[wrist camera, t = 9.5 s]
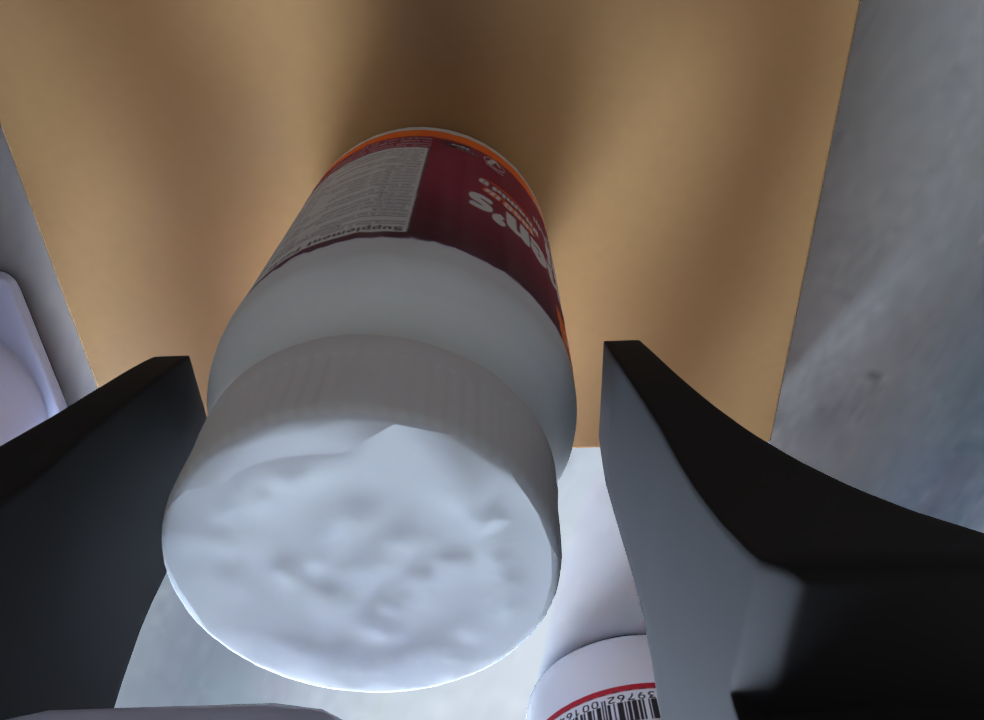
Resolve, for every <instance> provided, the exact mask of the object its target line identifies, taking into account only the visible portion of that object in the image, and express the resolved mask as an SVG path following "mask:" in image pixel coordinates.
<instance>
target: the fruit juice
mask: <svg viewBox="0 0 984 720" xmlns="http://www.w3.org/2000/svg"><path fill="white" fill-rule="evenodd" d="M526 720H661V716H660V710H659V704H658V698H657V692H656V686H655V680H654V674H653V668H652V662H651V657H650V651H649V646H648V640H647V635H632V636H622V637H616V638H611V639H607V640H602V641H599V642H596V643H592V644H590V645H587V646H584V647H582V648H580V649H577V650H575V651H573V652H571V653H570V654H568V655H566V656H564V657H563V658H561V659H560V660H558V661H557V662H556V663H554V664H553V665H552V666H551V667H550V668H549V669H547V670H546V672H545V673H544V674H543V675H542V676H541V677H540V679H539V680H538V682H537V683H536V685H535V687H534V689H533V691H532V693H531V696H530V699H529V703H528V707H527V715H526Z"/></svg>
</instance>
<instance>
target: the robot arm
mask: <svg viewBox="0 0 984 720" xmlns="http://www.w3.org/2000/svg"><path fill="white" fill-rule="evenodd" d="M206 419H207V416H206V413H205V409H204V406H203V402H202V399H201V395H200V392H199V388H198V385H197V381H196V378H195V374H194V371H193V367H192V364H191V360H190V357H189V355H188V356H159V357H153V358H150V359H148V360H146V361H144V362H142V363H140V364H138V365H136V366H135V367H133V368H131V369H129V370H128V371H126V372H124V373H123V374H121V375H119V376H118V377H116V378H114V379H113V380H111V381H109V382H108V383H106V384H105V385H103V386H101V387H100V388H98V389H96V390H95V391H93V392H92V393H90V394H88V395H87V396H85V397H83V398H82V399H80V400H79V401H77V402H75V403H74V404H72V405H70V406H69V407H67V404H66V402H65V399H64V397H63V394H62V392H61V389H60V387H59V384H58V382H57V379H56V377H55V374H54V372H53V369H52V367H51V364H50V362H49V359H48V357H47V354H46V352H45V349H44V347H43V344H42V342H41V339H40V337H39V334H38V332H37V329H36V327H35V324H34V322H33V319H32V317H31V314H30V312H29V310H28V307H27V305H26V302H25V300H24V297H23V295H22V292H21V290H20V287H19V285H18V283H17V282H16V280H15V279H14V278H12V277H11V276H10V275H9V274H7V273H4V272H2V271H0V720H342V719H340V718H338V717H336V716H334V715H332V714H330V713H328V712H326V711H324V710H322V709H315V708H307V707H300V706H292V705H284V704H276V703H265V704H233V705H202V706H170V707H139V708H114V706H115V703H116V700H117V696H118V693H119V690H120V687H121V684H122V681H123V678H124V675H125V672H126V669H127V666H128V663H129V660H130V658H131V655H132V652H133V649H134V646H135V643H136V640H137V637H138V635H139V632H140V629H141V627H142V624H143V622H144V620H145V617H146V615H147V612H148V610H149V608H150V605H151V603H152V601H153V599H154V597H155V595H156V593H157V591H158V589H159V587H160V585H161V582H162V580H163V578H164V576H165V574H166V572H167V570H166V567H165V564H164V558H163V551H162V523H163V518H164V512H165V508H166V505H167V502H168V499H169V495H170V493H171V491H172V489H173V487H174V485H175V483H176V481H177V478H178V476H179V474H180V473H181V471H182V469H183V467H184V465H185V463H186V461H187V459H188V457H189V455H190V453H191V451H192V449H193V448H194V445H195V442H196V440H197V438H198V435H199V433H200V431H201V429H202V427H203V425H204V423H205V421H206ZM599 442H600V449H601V455H602V462H603V469H604V475H605V481H606V486H607V489H608V493H609V497H610V500H611V503H612V507H613V510H614V514H615V517H616V521H617V524H618V527H619V531H620V534H621V538H622V541H623V544H624V548H625V551H626V554H627V558H628V561H629V565H630V568H631V571H632V575H633V578H634V581H635V585H636V588H637V592H638V596H639V600H640V604H641V608H642V613H643V618H644V624H645V629H646V635H647V640H648V646H649V651H650V657H651V662H652V668H653V674H654V680H655V686H656V692H657V698H658V704H659V710H660V716H661V720H984V533H981V532H978V531H975V530H971V529H968V528H965V527H962V526H959V525H956V524H952V523H949V522H946V521H943V520H940V519H937V518H933V517H930V516H927V515H924V514H921V513H917V512H915V511H912V510H909V509H906V508H904V507H901V506H899V505H896V504H894V503H891V502H888V501H886V500H883V499H881V498H878V497H876V496H873V495H870V494H868V493H866V492H863V491H861V490H859V489H856V488H854V487H852V486H849V485H847V484H845V483H843V482H840V481H838V480H836V479H834V478H832V477H830V476H828V475H826V474H824V473H822V472H820V471H818V470H816V469H814V468H812V467H810V466H808V465H806V464H804V463H802V462H800V461H798V460H797V459H795V458H793V457H791V456H789V455H787V454H786V453H784V452H782V451H781V450H779V449H777V448H776V447H774V446H772V445H771V444H769V443H767V442H766V441H764V440H763V439H761V438H759V437H758V436H756V435H754V434H753V433H751V432H750V431H748V430H747V429H745V428H744V427H742V426H741V425H740V424H738V423H737V422H736V421H734V420H733V419H731V418H730V417H729V416H727V415H726V414H725V413H723V412H722V411H721V410H719V409H718V408H716V407H715V406H714V405H713V404H711V403H710V402H709V401H708V400H706V399H705V398H704V397H703V396H701V395H700V394H699V393H698V392H697V391H695V390H694V389H693V388H692V387H691V386H690V385H688V384H687V383H686V382H685V381H684V380H683V379H681V378H680V377H679V376H678V375H677V374H676V373H675V372H674V371H673V370H671V369H670V368H669V367H668V366H667V365H666V364H665V363H664V362H663V361H662V360H661V359H659V358H658V357H657V356H656V355H655V354H654V353H653V352H652V351H651V350H650V349H649V348H648V347H647V346H645V345H644V344H643V343H642V342H641V341H640V340H622V341H604V346H603V365H602V384H601V403H600V422H599Z"/></svg>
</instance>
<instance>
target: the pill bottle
mask: <svg viewBox="0 0 984 720" xmlns="http://www.w3.org/2000/svg"><path fill="white" fill-rule="evenodd" d="M207 412H208V417H207V419H206V421H205V423H204V425H203V427H202V429H201V431H200V433H199V435H198V438H197V440H196V442H195V445H194V448H193V449H192V451H191V453H190V455H189V457H188V459H187V461H186V463H185V465H184V467H183V469H182V471H181V473H180V474H179V476H178V478H177V481H176V483H175V485H174V487H173V489H172V491H171V493H170V495H169V499H168V502H167V505H166V508H165V512H164V518H163V523H162V551H163V558H164V564H165V567H166V570H167V573H168V576H169V579H170V582H171V585H172V586H173V588H174V590H175V592H176V593H177V595H178V597H179V598H180V600H181V601H182V603H183V604H184V606H185V608H186V609H187V611H188V612H189V613H190V615H191V616H192V617H193V618H194V619H195V620H196V622H197V623H198V624H199V625H201V626H202V627H203V628H204V629H205V630H206V631H207V632H208V633H209V634H210V635H211V636H212V637H213V638H215V639H216V640H217V641H219V642H220V643H222V644H223V645H224V646H225V647H227V648H228V649H229V650H231V651H233V652H234V653H236V654H238V655H239V656H241V657H243V658H245V659H246V660H248V661H250V662H252V663H253V664H255V665H256V666H259V667H261V668H264V669H267V670H269V671H271V672H274V673H277V674H279V675H281V676H283V677H286V678H289V679H293V680H296V681H300V682H303V683H307V684H311V685H315V686H320V687H325V688H330V689H336V690H346V691H356V692H368V693H373V692H380V693H382V692H401V691H411V690H417V689H423V688H429V687H435V686H439V685H442V684H445V683H449V682H452V681H456V680H459V679H462V678H465V677H467V676H470V675H472V674H475V673H477V672H480V671H482V670H484V669H485V668H487V667H489V666H491V665H493V664H495V663H496V662H498V661H500V660H501V659H503V658H504V657H506V656H507V655H508V654H509V653H511V652H512V651H514V650H515V649H516V648H517V647H518V646H519V645H520V644H522V643H523V642H524V641H525V640H526V638H527V637H529V636H530V635H531V634H532V633H533V631H534V630H535V629H536V627H537V626H538V625H539V623H540V622H541V621H542V619H543V618H544V617H545V615H546V613H547V611H548V609H549V607H550V605H551V603H552V600H553V598H554V596H555V594H556V590H557V586H558V582H559V576H560V569H561V559H562V550H561V535H560V524H559V515H558V487H557V483H558V481H559V480H560V478H561V476H562V474H563V472H564V469H565V467H566V464H567V462H568V460H569V457H570V454H571V450H572V447H573V443H574V437H575V432H576V424H577V399H576V389H575V382H574V375H573V368H572V362H571V356H570V350H569V346H568V340H567V335H566V329H565V323H564V317H563V313H562V307H561V301H560V296H559V292H558V286H557V281H556V274H555V270H554V265H553V261H552V255H551V250H550V245H549V239H548V234H547V230H546V226H545V222H544V218H543V215H542V212H541V209H540V206H539V204H538V202H537V200H536V198H535V196H534V194H533V192H532V190H531V188H530V187H529V185H528V184H527V182H526V181H525V179H524V178H523V177H522V175H521V174H520V173H519V171H518V170H517V169H516V168H515V167H514V166H513V165H512V164H511V163H510V162H509V161H508V160H507V159H506V158H504V157H503V156H502V155H501V154H499V153H498V152H497V151H495V150H494V149H492V148H491V147H489V146H487V145H486V144H484V143H482V142H480V141H478V140H476V139H474V138H472V137H470V136H468V135H465V134H461V133H458V132H455V131H451V130H446V129H440V128H431V127H407V128H402V129H397V130H392V131H388V132H385V133H382V134H378V135H375V136H373V137H371V138H369V139H367V140H365V141H363V142H361V143H359V144H358V145H356V146H355V147H353V148H352V149H350V150H349V151H347V152H346V153H345V154H344V155H342V156H341V157H340V158H339V159H338V160H337V161H336V162H335V163H334V164H333V165H332V166H331V167H330V169H329V170H328V171H327V172H326V173H325V175H324V176H323V177H322V179H321V180H320V181H319V183H318V184H317V185H316V187H315V188H314V190H313V191H312V193H311V195H310V196H309V198H308V199H307V201H306V202H305V204H304V206H303V207H302V209H301V211H300V212H299V214H298V215H297V217H296V219H295V220H294V222H293V223H292V225H291V227H290V228H289V230H288V231H287V233H286V235H285V236H284V238H283V239H282V241H281V242H280V244H279V245H278V247H277V248H276V250H275V252H274V253H273V255H272V256H271V258H270V259H269V261H268V263H267V264H266V266H265V267H264V269H263V270H262V272H261V274H260V275H259V277H258V278H257V280H256V281H255V283H254V284H253V286H252V288H251V289H250V291H249V292H248V294H247V295H246V296H245V298H244V299H243V301H242V302H241V304H240V305H239V307H238V308H237V310H236V311H235V313H234V314H233V316H232V317H231V319H230V321H229V323H228V325H227V327H226V329H225V331H224V333H223V335H222V337H221V339H220V341H219V344H218V347H217V349H216V352H215V355H214V358H213V361H212V365H211V369H210V374H209V380H208V390H207Z"/></svg>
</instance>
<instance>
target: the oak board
mask: <svg viewBox="0 0 984 720" xmlns="http://www.w3.org/2000/svg"><path fill="white" fill-rule="evenodd" d="M860 1H861V0H0V125H1V127H2V130H3V133H4V135H5V138H6V141H7V144H8V146H9V149H10V152H11V154H12V157H13V160H14V163H15V165H16V168H17V171H18V173H19V176H20V179H21V181H22V184H23V187H24V190H25V192H26V195H27V198H28V200H29V203H30V206H31V208H32V211H33V214H34V217H35V219H36V222H37V225H38V227H39V230H40V233H41V235H42V238H43V241H44V244H45V246H46V249H47V252H48V254H49V257H50V260H51V262H52V265H53V268H54V271H55V273H56V276H57V279H58V281H59V284H60V287H61V290H62V292H63V295H64V298H65V300H66V303H67V306H68V308H69V311H70V314H71V317H72V319H73V322H74V325H75V327H76V330H77V333H78V335H79V338H80V341H81V344H82V346H83V349H84V352H85V354H86V357H87V360H88V362H89V365H90V368H91V371H92V373H93V376H94V379H95V381H96V384H97V387H98V388H100V387H101V386H103V385H105V384H106V383H108V382H109V381H111V380H113V379H114V378H116V377H118V376H119V375H121V374H123V373H124V372H126V371H128V370H129V369H131V368H133V367H135V366H136V365H138V364H140V363H142V362H144V361H146V360H148V359H150V358H153V357H159V356H188V355H189V357H190V360H191V364H192V367H193V371H194V374H195V378H196V381H197V385H198V388H199V392H200V395H201V399H202V402H203V406H204V409H205V413H206V416H207V417H208V412H207V390H208V380H209V374H210V369H211V365H212V361H213V358H214V355H215V352H216V349H217V347H218V344H219V341H220V339H221V337H222V335H223V333H224V331H225V329H226V327H227V325H228V323H229V321H230V319H231V317H232V316H233V314H234V313H235V311H236V310H237V308H238V307H239V305H240V304H241V302H242V301H243V299H244V298H245V296H246V295H247V294H248V292H249V291H250V289H251V288H252V286H253V284H254V283H255V281H256V280H257V278H258V277H259V275H260V274H261V272H262V270H263V269H264V267H265V266H266V264H267V263H268V261H269V259H270V258H271V256H272V255H273V253H274V252H275V250H276V248H277V247H278V245H279V244H280V242H281V241H282V239H283V238H284V236H285V235H286V233H287V231H288V230H289V228H290V227H291V225H292V223H293V222H294V220H295V219H296V217H297V215H298V214H299V212H300V211H301V209H302V207H303V206H304V204H305V202H306V201H307V199H308V198H309V196H310V195H311V193H312V191H313V190H314V188H315V187H316V185H317V184H318V183H319V181H320V180H321V179H322V177H323V176H324V175H325V173H326V172H327V171H328V170H329V169H330V167H331V166H332V165H333V164H334V163H335V162H336V161H337V160H338V159H339V158H340V157H341V156H342V155H344V154H345V153H346V152H347V151H349V150H350V149H352V148H353V147H355V146H356V145H358V144H359V143H361V142H363V141H365V140H367V139H369V138H371V137H373V136H375V135H378V134H382V133H385V132H388V131H392V130H397V129H402V128H407V127H431V128H440V129H446V130H451V131H455V132H458V133H461V134H465V135H468V136H470V137H472V138H474V139H476V140H478V141H480V142H482V143H484V144H486V145H487V146H489V147H491V148H492V149H494V150H495V151H497V152H498V153H499V154H501V155H502V156H503V157H504V158H506V159H507V160H508V161H509V162H510V163H511V164H512V165H513V166H514V167H515V168H516V169H517V170H518V171H519V173H520V174H521V175H522V177H523V178H524V179H525V181H526V182H527V184H528V185H529V187H530V188H531V190H532V192H533V194H534V196H535V198H536V200H537V202H538V204H539V206H540V209H541V212H542V215H543V218H544V222H545V226H546V230H547V234H548V239H549V245H550V250H551V255H552V261H553V265H554V270H555V274H556V281H557V286H558V292H559V296H560V301H561V307H562V313H563V317H564V323H565V329H566V335H567V340H568V346H569V350H570V356H571V362H572V368H573V375H574V382H575V389H576V399H577V424H576V432H575V437H574V443H573V447H572V448H589V447H600V442H599V422H600V403H601V384H602V365H603V346H604V341H622V340H640V341H641V342H642V343H643V344H644V345H645V346H647V347H648V348H649V349H650V350H651V351H652V352H653V353H654V354H655V355H656V356H657V357H658V358H659V359H661V360H662V361H663V362H664V363H665V364H666V365H667V366H668V367H669V368H670V369H671V370H673V371H674V372H675V373H676V374H677V375H678V376H679V377H680V378H681V379H683V380H684V381H685V382H686V383H687V384H688V385H690V386H691V387H692V388H693V389H694V390H695V391H697V392H698V393H699V394H700V395H701V396H703V397H704V398H705V399H706V400H708V401H709V402H710V403H711V404H713V405H714V406H715V407H716V408H718V409H719V410H721V411H722V412H723V413H725V414H726V415H727V416H729V417H730V418H731V419H733V420H734V421H736V422H737V423H738V424H740V425H741V426H742V427H744V428H745V429H747V430H748V431H750V432H751V433H753V434H754V435H756V436H758V437H759V438H761V439H763V440H764V441H766V442H769V441H770V440H771V435H772V430H773V426H774V421H775V416H776V411H777V406H778V401H779V396H780V391H781V387H782V382H783V377H784V372H785V367H786V362H787V357H788V352H789V348H790V343H791V338H792V333H793V328H794V323H795V318H796V313H797V309H798V304H799V299H800V294H801V289H802V284H803V279H804V274H805V270H806V265H807V260H808V255H809V250H810V245H811V240H812V235H813V231H814V226H815V221H816V216H817V211H818V206H819V201H820V196H821V192H822V187H823V182H824V177H825V172H826V167H827V162H828V157H829V153H830V148H831V143H832V138H833V133H834V128H835V123H836V118H837V114H838V109H839V104H840V99H841V94H842V89H843V84H844V79H845V75H846V70H847V65H848V60H849V55H850V50H851V45H852V40H853V36H854V31H855V26H856V21H857V16H858V11H859V6H860Z"/></svg>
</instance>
